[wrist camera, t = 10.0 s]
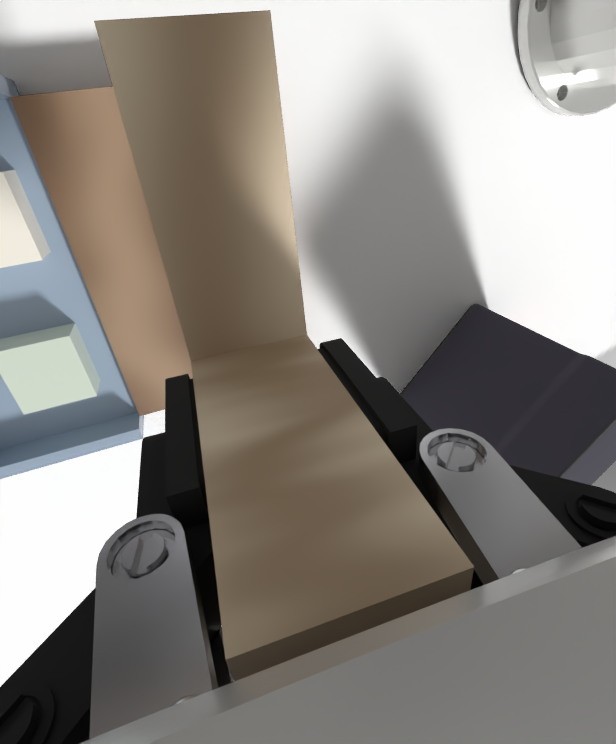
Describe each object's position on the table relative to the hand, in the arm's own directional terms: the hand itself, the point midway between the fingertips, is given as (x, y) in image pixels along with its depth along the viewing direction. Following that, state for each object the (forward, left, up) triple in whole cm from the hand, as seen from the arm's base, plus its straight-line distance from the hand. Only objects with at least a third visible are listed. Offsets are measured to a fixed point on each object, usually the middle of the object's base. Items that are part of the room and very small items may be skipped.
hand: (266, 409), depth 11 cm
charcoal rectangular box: (-19, +13, -19) cm, 29 cm away
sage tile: (+10, +4, -17) cm, 20 cm away
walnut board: (0, 0, -19) cm, 19 cm away
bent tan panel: (0, 0, -3) cm, 3 cm away
